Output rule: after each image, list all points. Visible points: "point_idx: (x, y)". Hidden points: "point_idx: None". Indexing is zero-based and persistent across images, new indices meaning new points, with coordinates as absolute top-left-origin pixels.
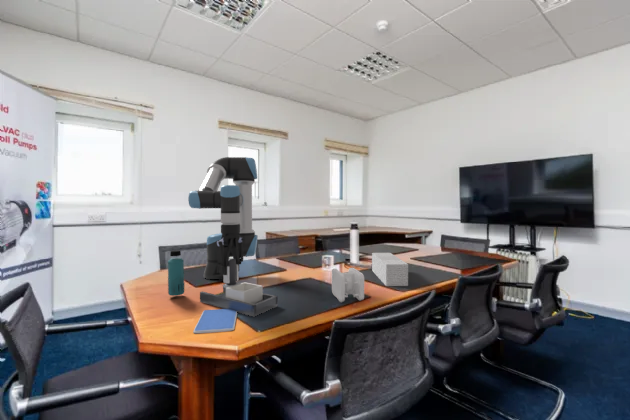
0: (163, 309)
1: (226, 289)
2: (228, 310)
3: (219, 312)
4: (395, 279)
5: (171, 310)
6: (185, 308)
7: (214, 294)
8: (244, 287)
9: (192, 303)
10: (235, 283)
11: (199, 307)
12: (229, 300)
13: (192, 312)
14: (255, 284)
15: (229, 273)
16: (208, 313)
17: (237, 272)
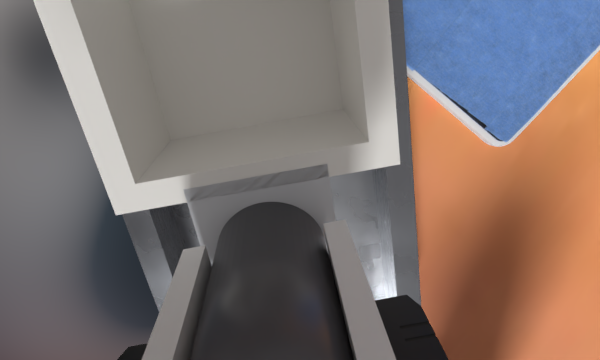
0: (591, 331)
1: (394, 146)
2: (407, 8)
3: (475, 21)
4: None
5: (581, 293)
6: (521, 272)
7: (394, 255)
8: (151, 165)
9: (445, 319)
10: (245, 211)
11: (465, 234)
12: (403, 35)
13: (545, 185)
14: (47, 22)
15: (342, 296)
16: (533, 63)
17: (176, 315)
